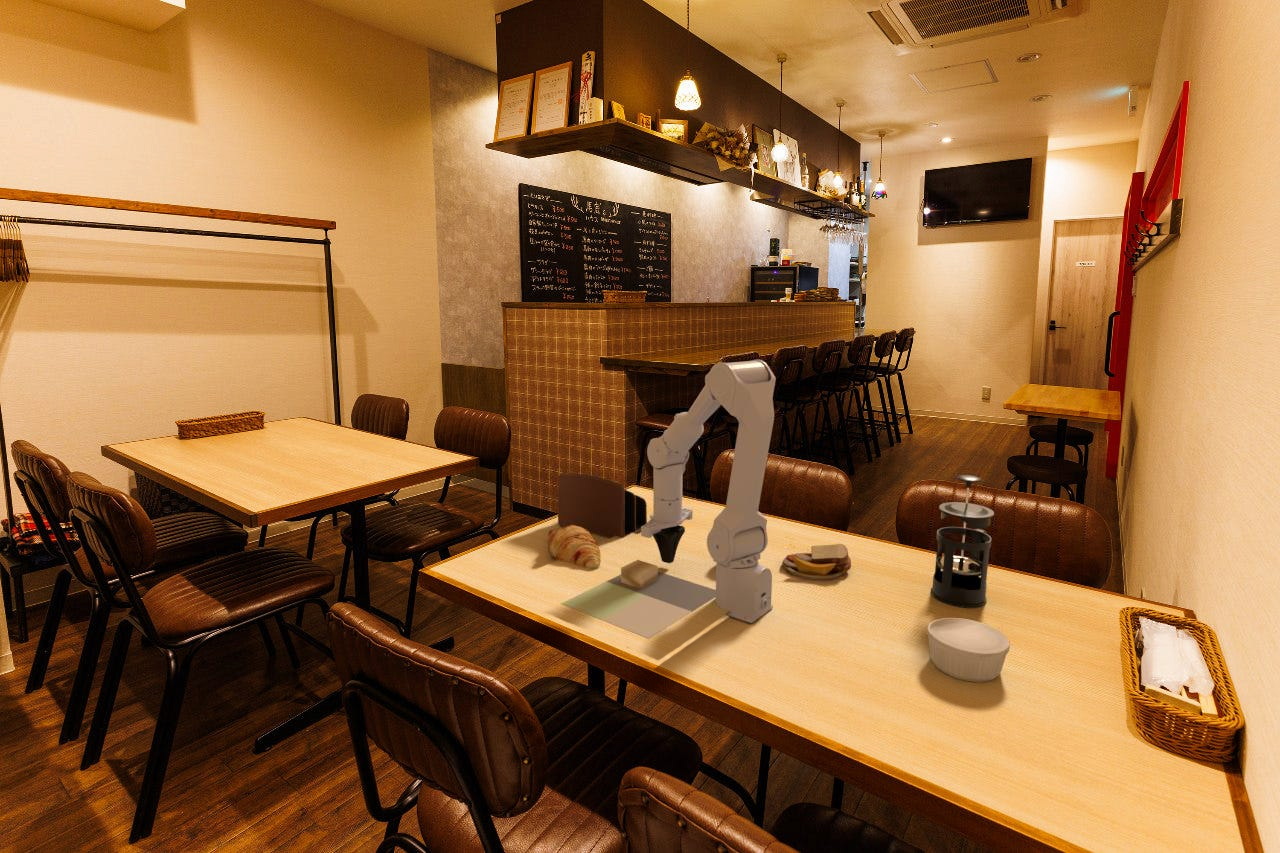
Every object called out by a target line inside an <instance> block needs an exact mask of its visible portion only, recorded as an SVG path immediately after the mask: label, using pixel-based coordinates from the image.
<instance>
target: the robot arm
mask: <svg viewBox="0 0 1280 853" xmlns="http://www.w3.org/2000/svg"><path fill="white" fill-rule="evenodd" d="M776 379H777V378H776V376H775V375H774V372H773V371H772V370H771V367H770V366H769V365H768V364H767V362H765V361H764V360H762V359H753V360H749V361H748V360H746V361H736V362H735V361H734V362H724V361H723V362H717V363H715V364H714V365H713V366H712V367H711V368H710V371H709V372H708V373H707V374H705V377H704V383H705V384H704V387H703V388H702V390H701V391H700V392H699V394H698V396H696V397H697V398H696V399H695V400H694V402H693V404H692V405H691V407H690V408H689V410H688V411H684V412H683V411H682V412H680V413H676V414H675V415H674V417H673V419H674V420H673V421H672V423H671V424H670V425H669V426H668V427H667V429H665V430H664V431H663V434H662V435H661V436H659V437H656V438H655V437H654V438H652V439H651V438H650V441H649V443H648V445H647V449H646V451H647V452H646V455H647V459H648V461H649V463H650V465H651V466H652V467H653V513H651V514H649V520H647V523H646V524H645V525H644V526H641V533H640V534H641V535H640V536H641V537H642V538H643V537H644V538H647V539H650V538H652V537H653V539H654V540H655V543H656V545H657V548H658V551H659V555H660V558H661V562H663V563H666V564H672V563H674V561H675V557H676V552H677V549H678V546H679V544H680V541H681V539H682V537H683V535H684V533H685V532H686V527H685V526H682V524H683V523H684V522H685V521H687V520H688V521H690V520H693V509H689V508H686V507H685V508H683V475H684V473H685V471H686V465H687V462H688V460H689V458H690V452H689V450H691V448H692V447H693V446H694V444H695V443H696V442H697V441H698V440H699V439H700V438H701V436H702V435H703V433H704V431H705V428H704V423H705V422H706V421H707V420H708V419H709V418H710V417H711V416H712V415H713V414H714V413H715V412H716V411H717V410H718V409H719V408H720V407H721V406H722V407H723V408H724V409H725V410H726V411H727V412H728V413H729V415H730V416H733V417H734V418H736V419H737V421H738V428H737V435H736V440H735V448H734V455H733V460H732V466H731V473H730V477H729V485H728V492H727V497H726V503H725V504H726V505H725V507H724V508H723V510H721V512H720V513H719V514H718V515H717V516H716V517H715V518H714V519H713V524H712V528H711V529H710V531H709V533H708V534H707V538H706V547H707V551H708V553H709V555H710V557H711V559H712V561H713V562H715V563H716V564H715V565H716V566H715V567H716V568H715V571H716V572H715V590H716V597H715V604H716V605H717V606H718V607H719V608H721V609H723V610H726V611H727V612H726V613H725V614H724V615H726V616H728V617H731V618H735V619H738V620H740V621H743V622H746V623H749V624H753V623H754V622H756V620H758V619H760V618H761V617H762V616H763V615H765V614H766V613H768V612H769V611H770V610H771V609H773V608H774V605H773V604H772V594H773V593H772V592H773V591H772V589H773V588H772V587H773V575H772V570H770V569H769V568H768V567H767V566H764V565H763V564H761V563H760V562H759V560H761V553H763V552H764V551H765V550H766V549H767V546H768V540H769V539H768V533H767V524H768V520H767V518H766V517H765V515H763V513H761V512H760V511H759V506H760V500H761V494H762V490H763V483H764V478H765V471H766V466H767V460H768V456H769V455H768V454H769V450H770V443H771V438H772V432H773V427H774V423H775V422H774V421H775V409H774V400H773V397H774V392H775V386H776V381H777V380H776Z"/></svg>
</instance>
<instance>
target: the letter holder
mask: <svg viewBox="0 0 1280 853" xmlns="http://www.w3.org/2000/svg"><path fill="white" fill-rule="evenodd" d="M557 481H558V483H557V488H558V490H557V515H558V516H557V524H558V526H559V525H560V526H559V527H563V526H564V527H567V526H570V525H575V526H578V527H582V528H584V529H586V530H587V531H589V532H590V533H591V535H594V534H595V536H598V535H599V536H598V537H602V536H603V538H606V537H607V539H613V538H615V537H618V538H622V539H624V538H625V537H628V536H629V535H631V534H635V535H639V534H641V533H640V532H641V526H644V525H645V524H646V523H647V522H648V517H647V516H648V510H647V507H648V506H647V504H648V503H647V501H646V499H645V498H643V497H641V496H639V495H636V494H635V493H633V492H632V491H630V490H627V489H625V487H624V486H623V485H622V484H621V483H618V482H615V481H612V480H609V479H606V478H602V477H598V476H594V475H590V474H584V473H570V472H569V473H567V472H566V473H564V472H563V473H560V474H559V475H558V477H557ZM564 527H563V528H564ZM638 533H639V534H638Z"/></svg>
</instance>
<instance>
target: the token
mask: <svg viewBox="0 0 1280 853" xmlns="http://www.w3.org/2000/svg"><path fill="white" fill-rule="evenodd" d="M658 572H659V566H658V565H655V564H653V563H649V562H646V561H643V560H640V559H636V560H634V561H632V562H630V563H628V564H626V565H624V566H621V568H620V575H621V582H622V583H625V584H627V585H630V586H633V587H636V588H639V589H643V588H645V587H647V586H649V585H651V584H653V583H654V582H656V581H658Z"/></svg>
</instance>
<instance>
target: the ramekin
mask: <svg viewBox="0 0 1280 853" xmlns="http://www.w3.org/2000/svg"><path fill="white" fill-rule="evenodd" d="M926 634H927V636H928V647H929V656H930V659H931V661H932V662H933V664H934V665H935V667H936V668H937V669H938V670H940V671H942V672H943V673H944V674H946V675H948V676H951V677H953V678H954V679H958V680H962V681H966V682H973V683H974V682H975V683H977V682H978V683H980V682H981V683H982V682H989V681H992V680H994V679H995V678H997V677H998V676H999V675H1000V674H1001V672H1002V670H1003V667H1004V664H1005V660H1006V657H1007V655H1008V654H1009V652H1010V644H1011V643H1010V641H1009V638H1008V637H1007V635H1005V634H1004V633H1003V632H1002V631H1000V630H999V629H997V628H995V627H993V626H991V625H989V624H987V623H983V622H980V621H977V620H973V619H968V618H960V617H942V618H939V619H938V618H937V619H935V620H933V621H930V622H929V624H928V625H927V628H926Z"/></svg>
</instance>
